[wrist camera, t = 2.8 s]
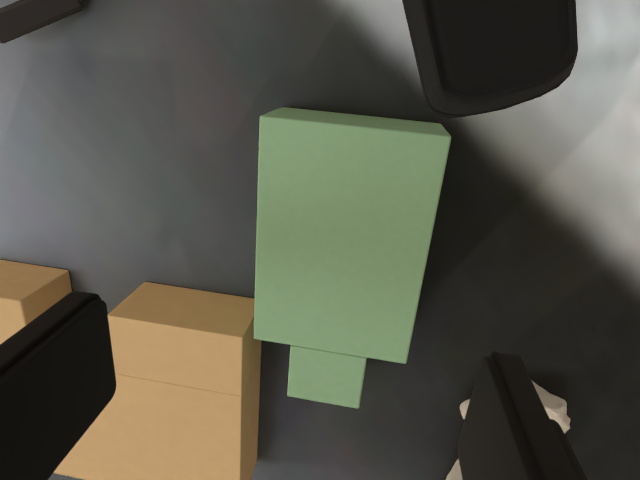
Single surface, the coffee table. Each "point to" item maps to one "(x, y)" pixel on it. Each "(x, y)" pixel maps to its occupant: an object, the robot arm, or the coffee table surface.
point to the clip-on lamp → (33, 16)
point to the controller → (490, 51)
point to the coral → (552, 405)
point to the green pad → (343, 241)
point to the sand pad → (160, 380)
